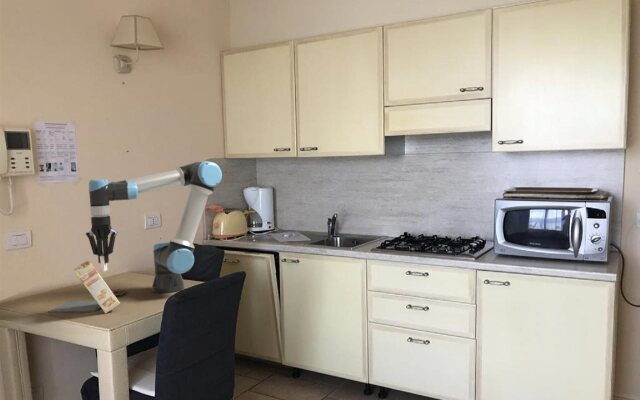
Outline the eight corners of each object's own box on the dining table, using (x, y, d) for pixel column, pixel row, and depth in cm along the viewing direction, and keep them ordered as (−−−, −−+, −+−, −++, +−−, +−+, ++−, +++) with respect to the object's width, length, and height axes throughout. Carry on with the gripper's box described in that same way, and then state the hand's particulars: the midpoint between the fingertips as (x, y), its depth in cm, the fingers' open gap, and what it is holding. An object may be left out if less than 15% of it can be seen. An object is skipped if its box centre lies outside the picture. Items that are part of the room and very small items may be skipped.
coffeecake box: (120, 303, 217) (94, 267, 209) (105, 314, 214) (78, 277, 206) (113, 294, 229) (88, 259, 222) (98, 304, 226) (72, 269, 219)
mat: (110, 301, 232) (110, 300, 232) (94, 311, 217) (93, 310, 217) (67, 302, 233) (67, 301, 233) (48, 312, 219) (48, 311, 218)
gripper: (119, 214, 222) (122, 268, 224) (90, 215, 223) (93, 269, 225) (111, 216, 215) (115, 272, 216) (81, 217, 215) (84, 272, 217)
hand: (104, 270), depth 221 cm, fingers closed
